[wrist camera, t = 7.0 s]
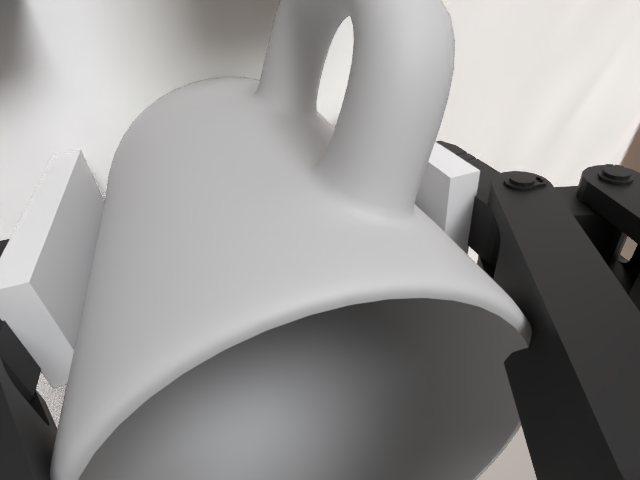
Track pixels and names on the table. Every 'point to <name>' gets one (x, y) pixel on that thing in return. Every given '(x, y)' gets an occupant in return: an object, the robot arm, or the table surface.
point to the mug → (291, 278)
